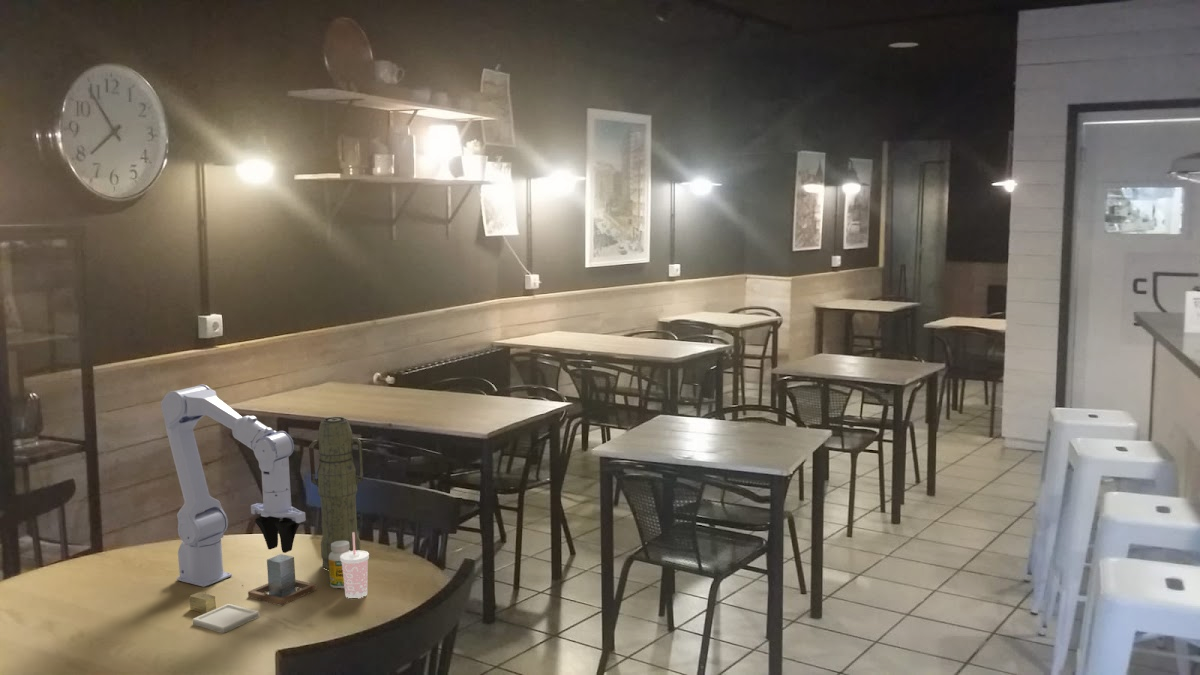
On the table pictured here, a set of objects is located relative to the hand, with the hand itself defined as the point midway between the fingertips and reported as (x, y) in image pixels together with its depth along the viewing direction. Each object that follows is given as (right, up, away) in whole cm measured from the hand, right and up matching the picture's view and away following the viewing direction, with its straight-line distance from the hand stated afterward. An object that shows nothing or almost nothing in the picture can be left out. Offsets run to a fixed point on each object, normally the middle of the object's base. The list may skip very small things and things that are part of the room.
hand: (279, 549), depth 222 cm
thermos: (+9, -8, +18) cm, 22 cm away
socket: (0, -10, +1) cm, 10 cm away
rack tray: (-7, -12, -13) cm, 19 cm away
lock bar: (-14, -11, -7) cm, 19 cm away
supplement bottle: (+12, -9, +6) cm, 16 cm away
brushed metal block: (0, -10, +1) cm, 10 cm away
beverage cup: (+17, -10, 0) cm, 19 cm away
